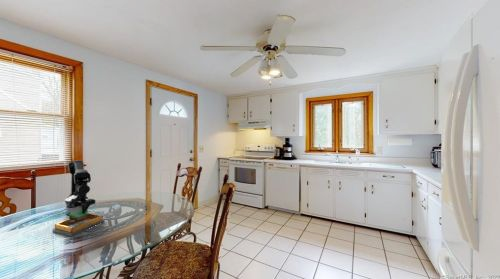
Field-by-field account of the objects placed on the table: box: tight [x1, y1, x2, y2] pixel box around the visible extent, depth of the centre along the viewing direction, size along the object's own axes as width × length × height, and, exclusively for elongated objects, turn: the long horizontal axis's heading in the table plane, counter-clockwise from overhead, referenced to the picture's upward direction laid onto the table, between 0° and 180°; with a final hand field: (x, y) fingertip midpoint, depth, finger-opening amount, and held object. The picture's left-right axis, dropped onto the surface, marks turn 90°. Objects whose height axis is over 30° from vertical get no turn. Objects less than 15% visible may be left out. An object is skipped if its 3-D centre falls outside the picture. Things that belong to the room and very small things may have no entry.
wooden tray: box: [52, 212, 105, 238], centre depth 133 cm, size 16×21×5 cm
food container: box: [66, 206, 89, 223], centre depth 133 cm, size 12×6×10 cm, turn 165°
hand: (80, 213), depth 133 cm, fingers closed on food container, 6 cm apart
